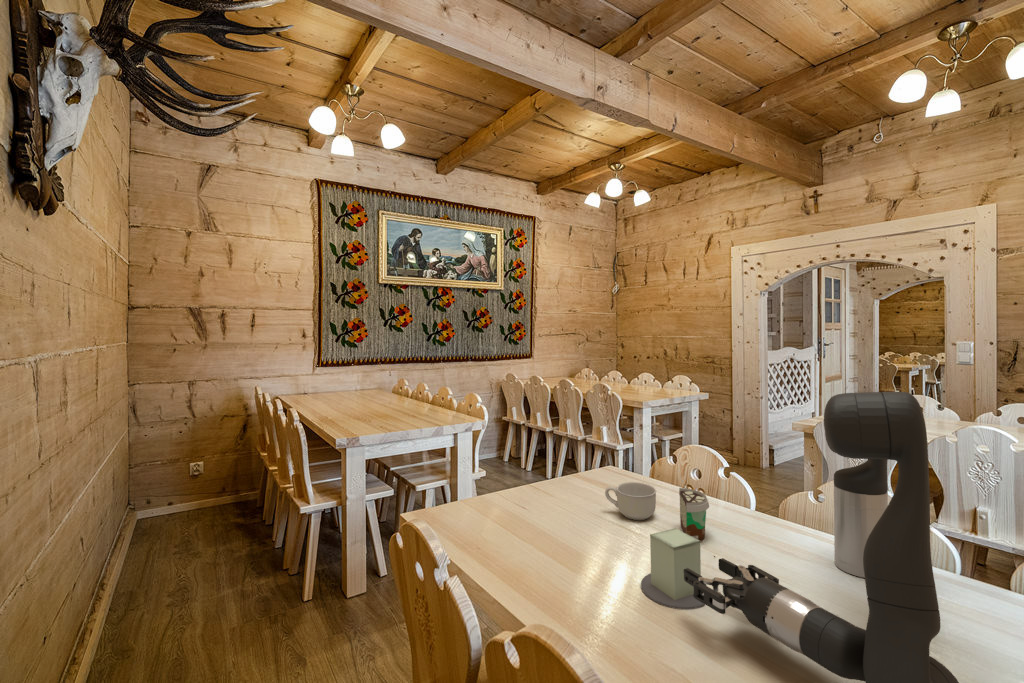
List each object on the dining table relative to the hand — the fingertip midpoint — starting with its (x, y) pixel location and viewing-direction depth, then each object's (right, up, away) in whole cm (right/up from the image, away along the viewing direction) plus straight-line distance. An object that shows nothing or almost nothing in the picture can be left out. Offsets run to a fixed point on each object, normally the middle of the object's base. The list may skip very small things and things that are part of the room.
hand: (702, 568), depth 86 cm
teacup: (-2, -7, +46) cm, 46 cm away
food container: (+11, -7, +32) cm, 34 cm away
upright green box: (-3, -7, +7) cm, 10 cm away
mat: (-3, -8, +7) cm, 10 cm away
